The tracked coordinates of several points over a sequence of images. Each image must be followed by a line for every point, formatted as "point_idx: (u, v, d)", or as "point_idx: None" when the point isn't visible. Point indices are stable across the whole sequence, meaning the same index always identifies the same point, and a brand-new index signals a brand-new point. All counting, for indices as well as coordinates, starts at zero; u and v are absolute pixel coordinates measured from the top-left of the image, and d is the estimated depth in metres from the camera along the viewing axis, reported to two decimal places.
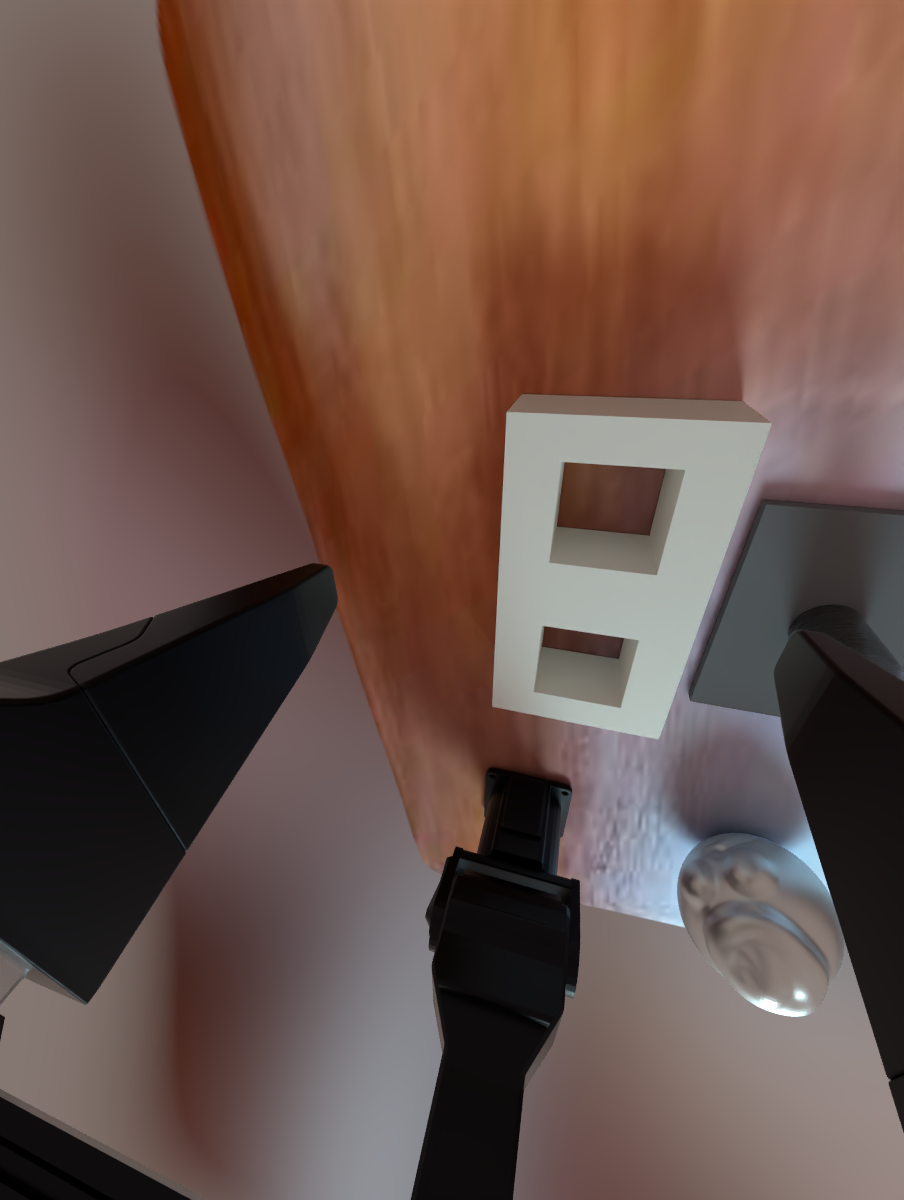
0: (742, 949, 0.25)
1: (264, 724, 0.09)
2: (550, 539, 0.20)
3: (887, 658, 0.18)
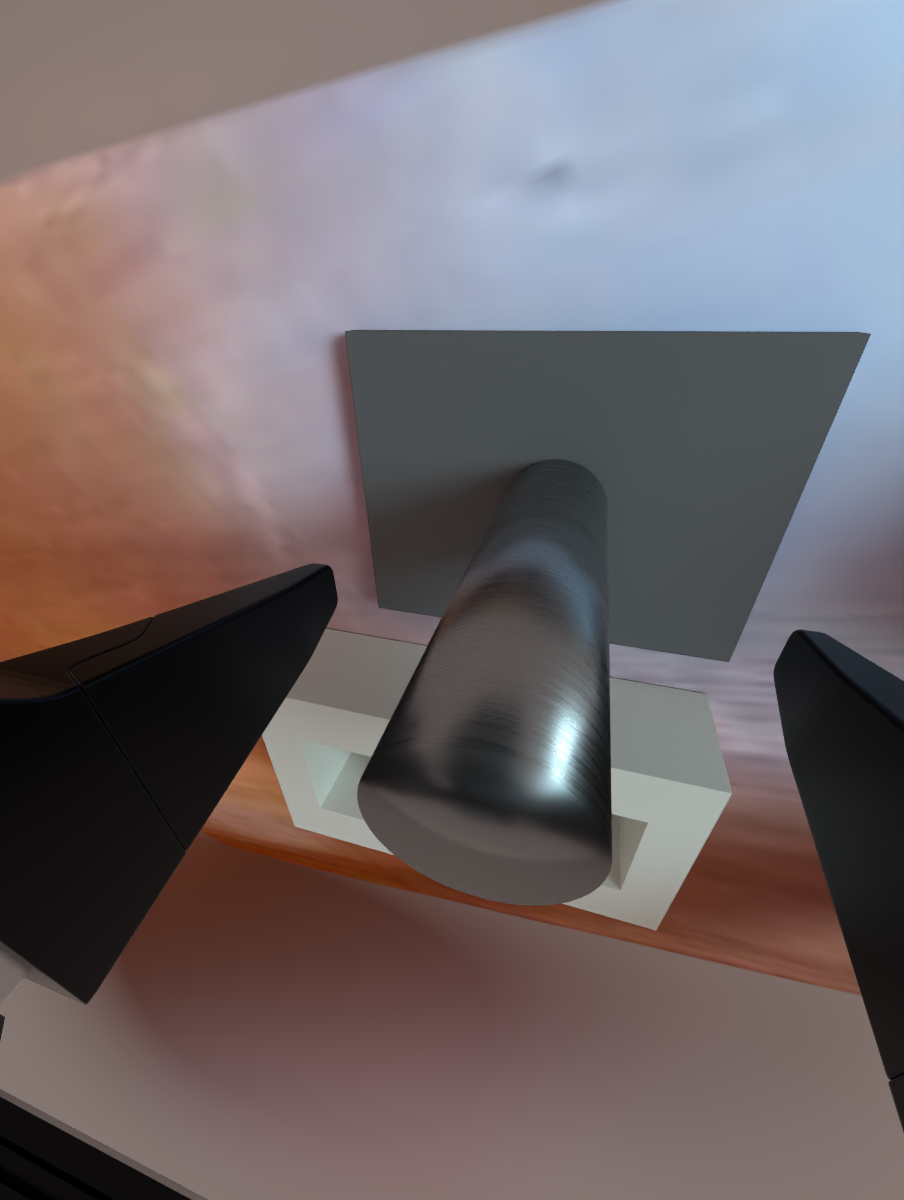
0: None
1: (264, 724, 0.09)
2: None
3: None
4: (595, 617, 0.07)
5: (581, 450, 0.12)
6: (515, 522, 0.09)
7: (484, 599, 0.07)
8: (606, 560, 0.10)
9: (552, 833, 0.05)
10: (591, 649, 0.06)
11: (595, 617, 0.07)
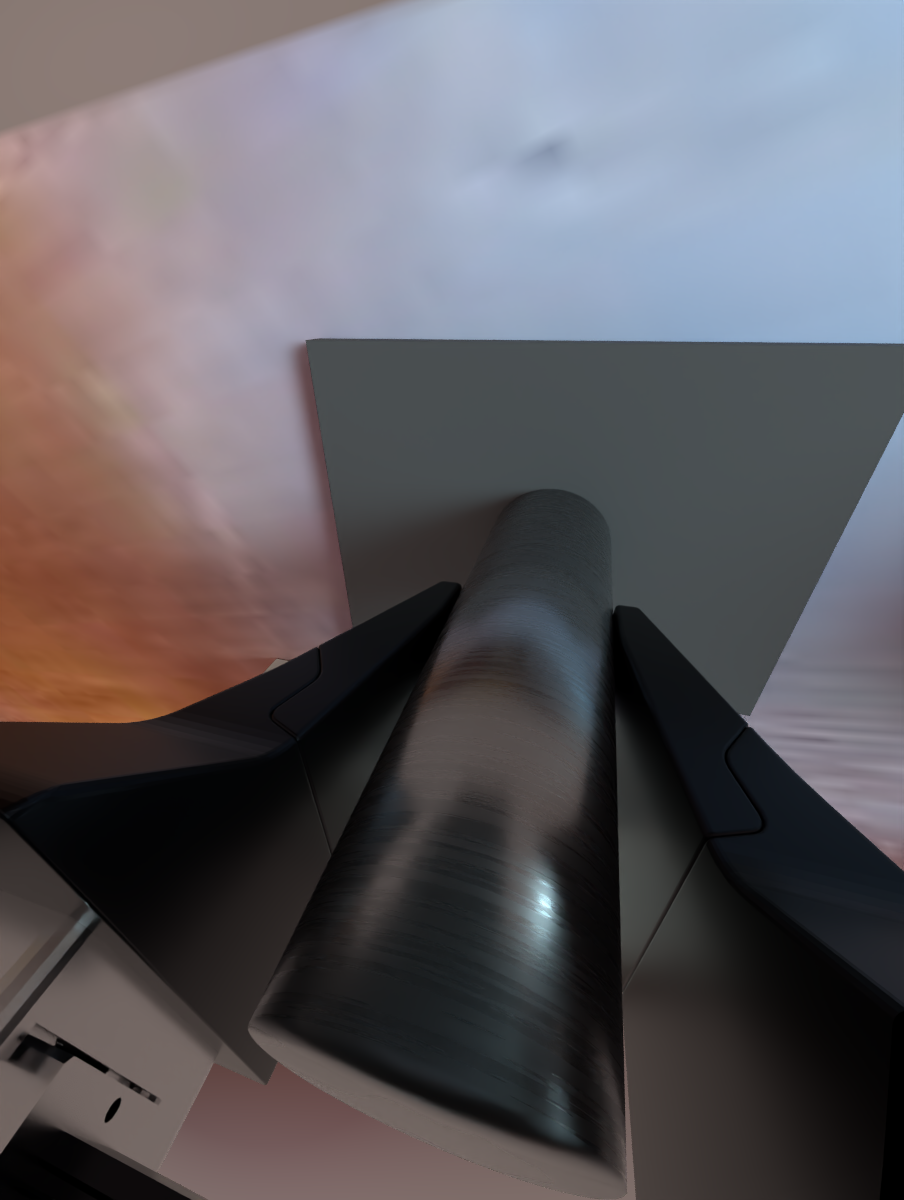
0: None
1: None
2: None
3: None
4: (599, 725, 0.05)
5: (581, 478, 0.10)
6: (499, 579, 0.07)
7: (450, 708, 0.05)
8: (611, 623, 0.08)
9: (533, 1147, 0.03)
10: (593, 788, 0.05)
11: (598, 727, 0.05)
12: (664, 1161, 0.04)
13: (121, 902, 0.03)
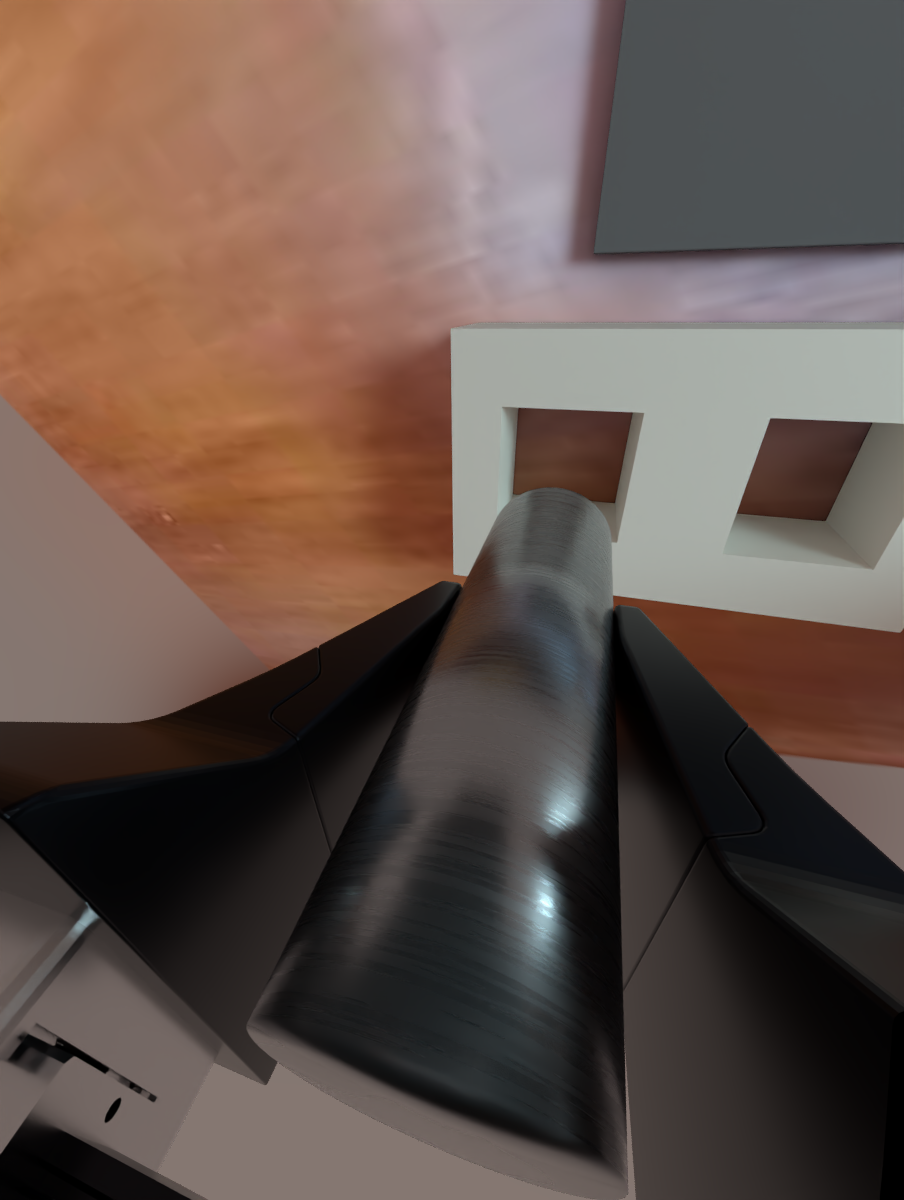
0: None
1: None
2: None
3: None
4: (599, 724, 0.05)
5: None
6: (499, 578, 0.07)
7: (450, 706, 0.05)
8: (612, 622, 0.08)
9: (533, 1147, 0.03)
10: (594, 786, 0.05)
11: (598, 725, 0.05)
12: (664, 1161, 0.04)
13: (121, 901, 0.03)
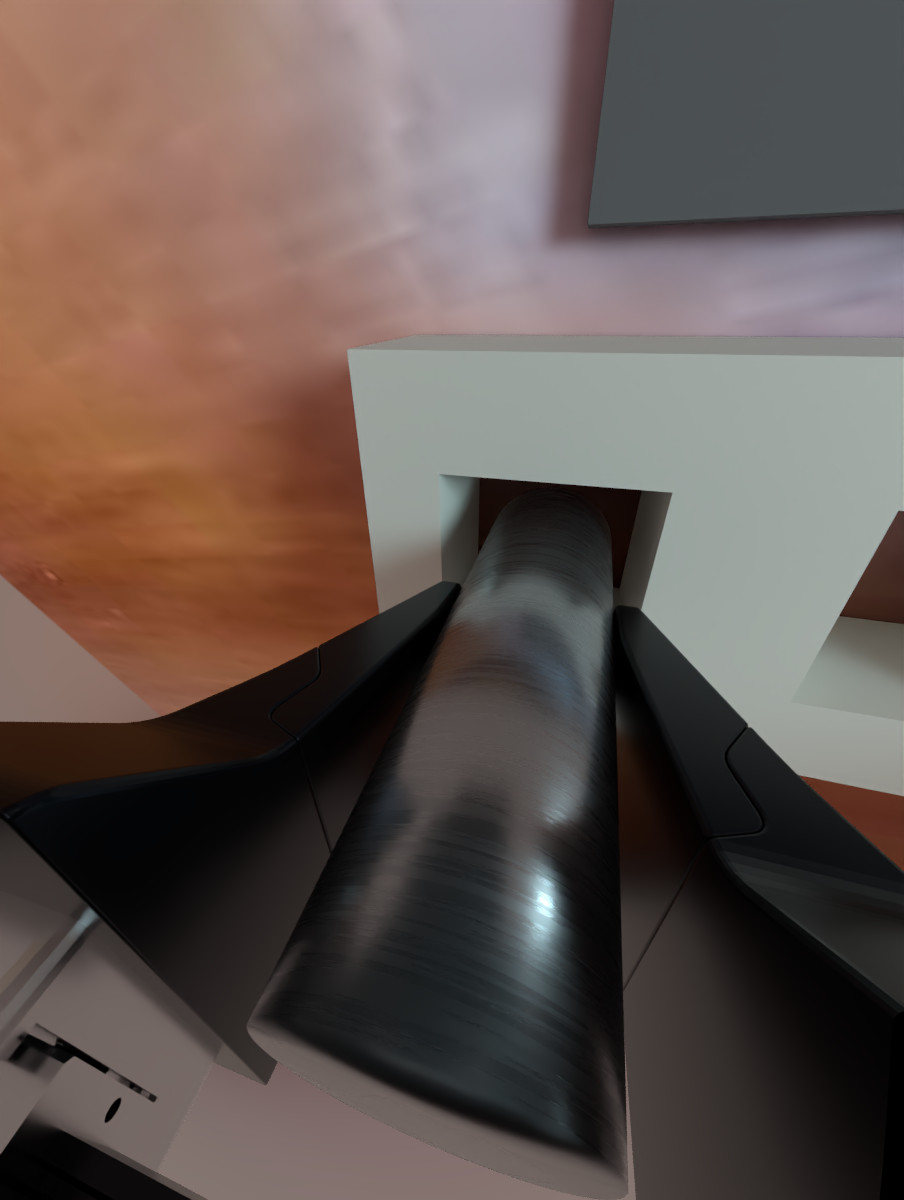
0: None
1: None
2: None
3: None
4: (599, 724, 0.05)
5: None
6: (500, 578, 0.07)
7: (449, 706, 0.05)
8: (612, 622, 0.08)
9: (533, 1147, 0.03)
10: (593, 786, 0.05)
11: (599, 726, 0.05)
12: (664, 1161, 0.04)
13: (122, 901, 0.03)
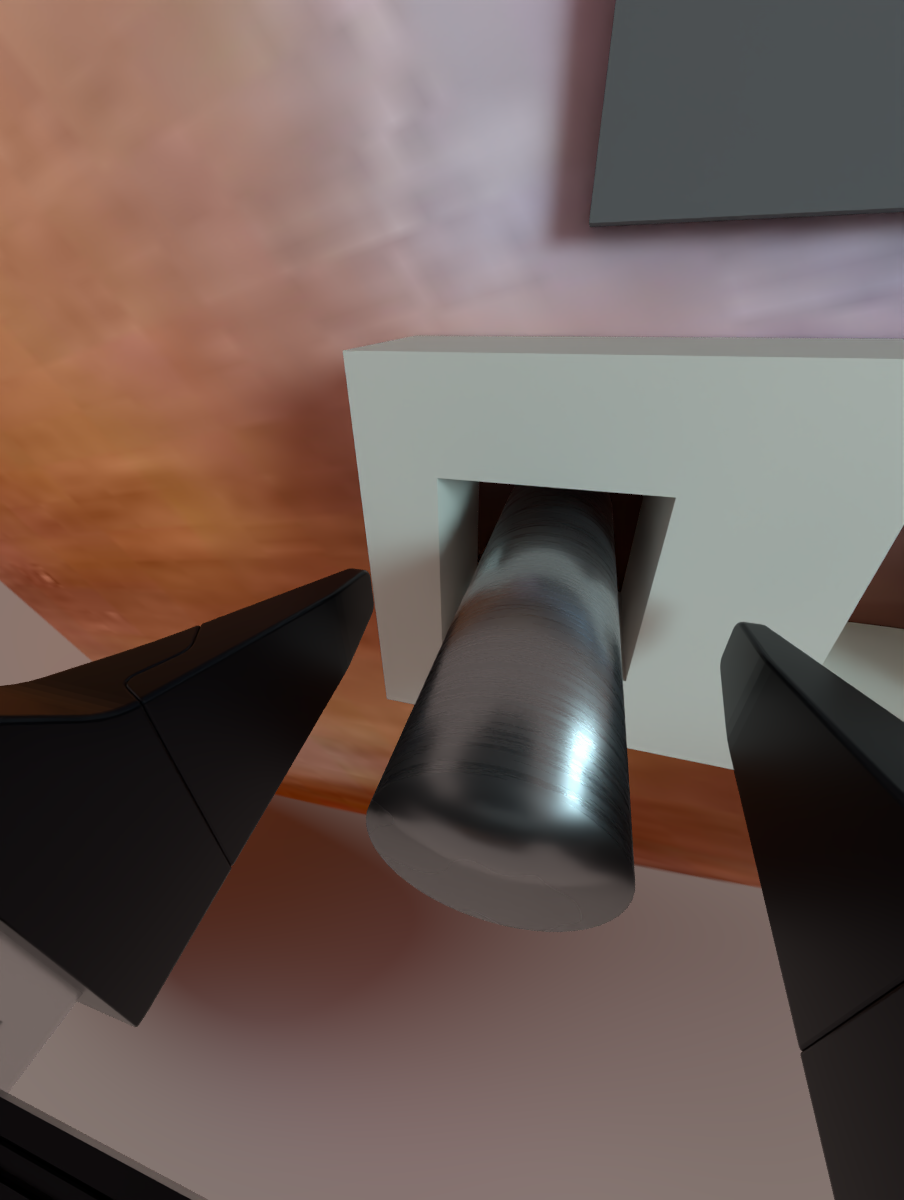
0: None
1: (307, 734, 0.08)
2: None
3: None
4: (608, 629, 0.07)
5: None
6: (522, 530, 0.09)
7: (494, 612, 0.07)
8: (615, 567, 0.09)
9: (572, 862, 0.05)
10: (605, 664, 0.06)
11: (608, 629, 0.07)
12: None
13: None
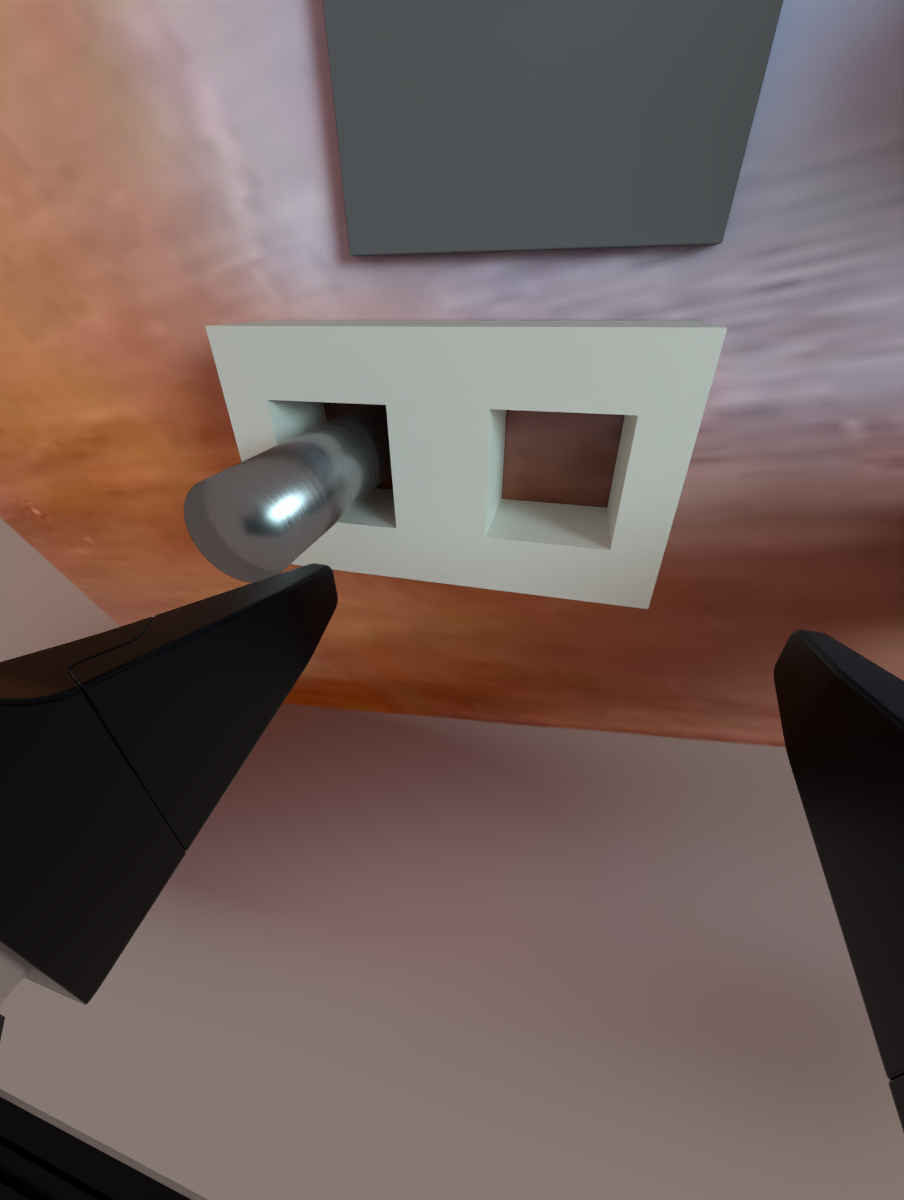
0: None
1: (265, 724, 0.09)
2: (369, 527, 0.18)
3: None
4: (328, 463, 0.14)
5: None
6: None
7: None
8: (371, 451, 0.16)
9: (259, 522, 0.12)
10: (311, 470, 0.13)
11: (327, 462, 0.14)
12: None
13: None
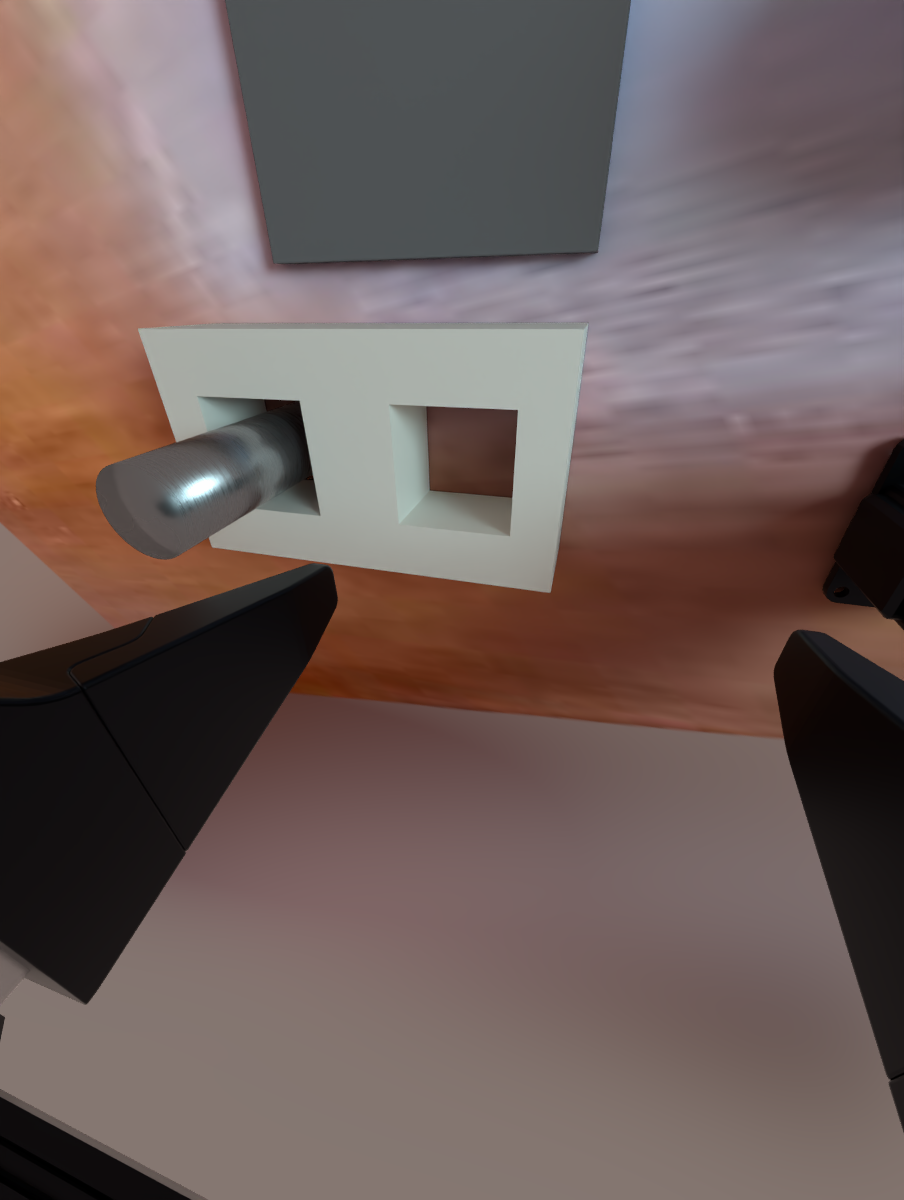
0: None
1: (265, 724, 0.09)
2: (297, 514, 0.19)
3: None
4: (240, 453, 0.15)
5: None
6: None
7: None
8: (293, 444, 0.18)
9: (158, 503, 0.13)
10: (218, 458, 0.15)
11: (238, 452, 0.15)
12: None
13: None
